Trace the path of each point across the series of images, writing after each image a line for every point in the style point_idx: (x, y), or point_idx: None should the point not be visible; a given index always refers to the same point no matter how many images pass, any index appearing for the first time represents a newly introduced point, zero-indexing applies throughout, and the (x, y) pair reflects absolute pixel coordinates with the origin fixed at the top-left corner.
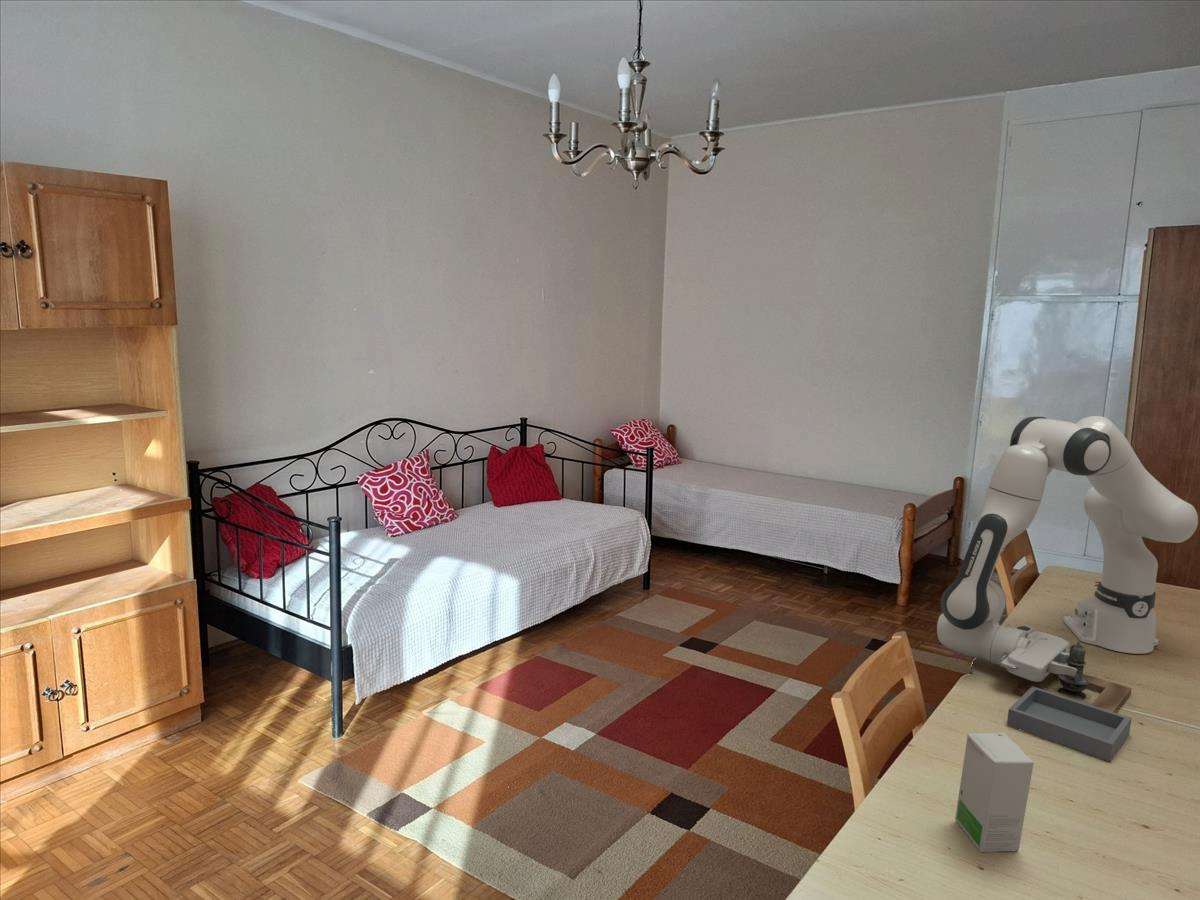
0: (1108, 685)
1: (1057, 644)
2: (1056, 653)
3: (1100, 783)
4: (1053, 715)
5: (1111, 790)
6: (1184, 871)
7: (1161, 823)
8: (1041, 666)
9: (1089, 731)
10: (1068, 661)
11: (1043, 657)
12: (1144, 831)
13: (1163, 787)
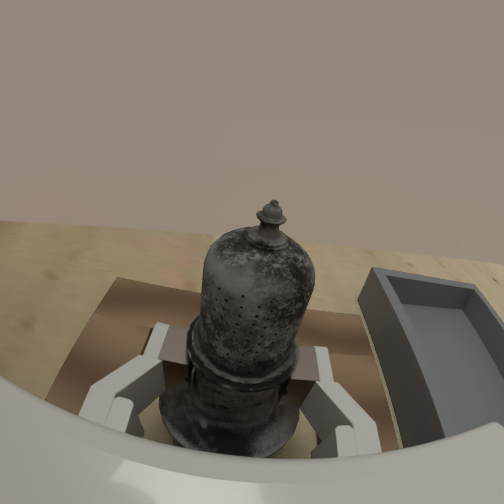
0: (126, 319)
1: (3, 428)
2: (213, 458)
3: (495, 309)
4: (451, 406)
5: (492, 301)
6: (497, 265)
7: (481, 272)
8: (498, 425)
9: (436, 338)
10: (287, 375)
11: (406, 492)
12: (498, 280)
13: (440, 269)
